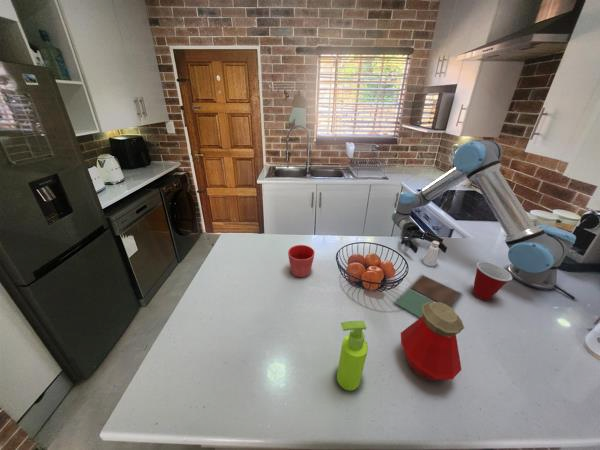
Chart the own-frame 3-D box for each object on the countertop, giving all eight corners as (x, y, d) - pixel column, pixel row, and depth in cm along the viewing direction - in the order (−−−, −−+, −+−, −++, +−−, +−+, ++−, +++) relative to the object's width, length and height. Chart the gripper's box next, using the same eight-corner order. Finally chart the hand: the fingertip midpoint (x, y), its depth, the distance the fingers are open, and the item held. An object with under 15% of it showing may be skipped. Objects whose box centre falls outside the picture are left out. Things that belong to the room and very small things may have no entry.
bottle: (466, 385, 63) (497, 331, 54) (423, 401, 59) (448, 346, 50) (423, 335, 76) (442, 285, 67) (385, 345, 73) (400, 293, 64)
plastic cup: (505, 308, 88) (520, 281, 83) (472, 302, 90) (484, 276, 84) (491, 287, 98) (503, 263, 92) (461, 283, 99) (471, 258, 94)
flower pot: (283, 275, 100) (283, 255, 96) (294, 261, 109) (294, 242, 105) (307, 282, 96) (309, 262, 92) (316, 267, 106) (318, 248, 101)
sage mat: (448, 310, 86) (448, 309, 86) (436, 328, 79) (437, 327, 79) (409, 290, 95) (409, 289, 94) (395, 304, 88) (395, 303, 88)
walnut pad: (459, 294, 94) (460, 293, 93) (449, 308, 87) (450, 307, 87) (422, 276, 103) (423, 275, 102) (411, 288, 96) (411, 287, 95)
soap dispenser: (330, 368, 66) (338, 314, 57) (356, 367, 67) (367, 313, 57) (335, 391, 61) (345, 336, 52) (362, 389, 61) (376, 334, 52)
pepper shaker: (435, 268, 108) (442, 246, 103) (421, 263, 110) (428, 242, 106) (436, 262, 112) (443, 241, 107) (423, 258, 115) (430, 237, 110)
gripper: (430, 234, 131) (454, 257, 112) (384, 234, 130) (402, 257, 111) (434, 221, 128) (460, 243, 109) (387, 221, 126) (405, 243, 107)
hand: (431, 250), depth 110 cm, fingers open, 13 cm apart
